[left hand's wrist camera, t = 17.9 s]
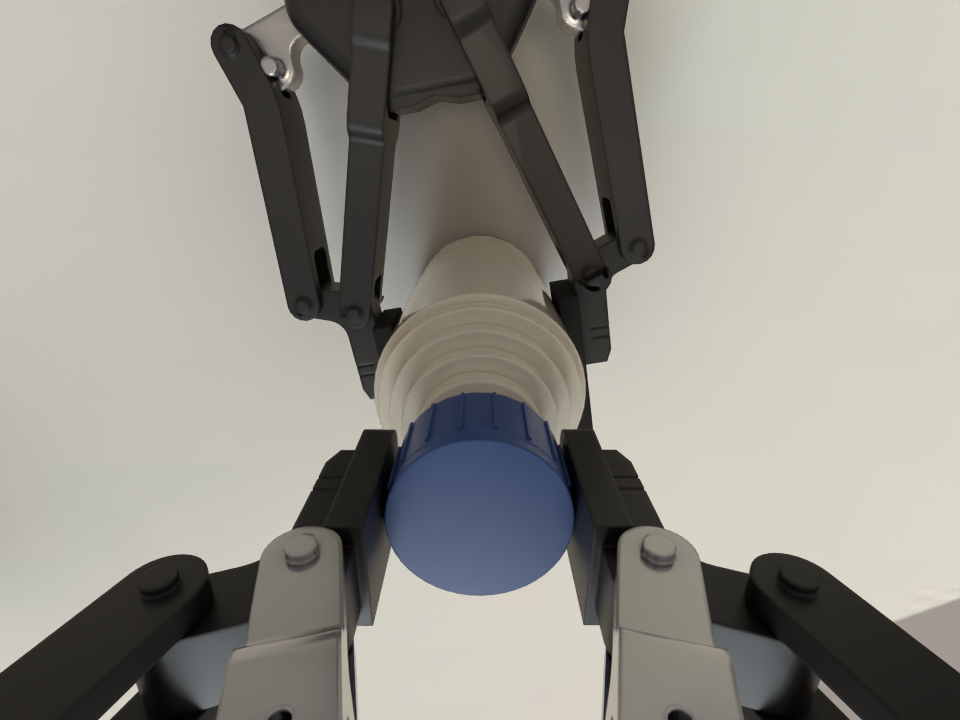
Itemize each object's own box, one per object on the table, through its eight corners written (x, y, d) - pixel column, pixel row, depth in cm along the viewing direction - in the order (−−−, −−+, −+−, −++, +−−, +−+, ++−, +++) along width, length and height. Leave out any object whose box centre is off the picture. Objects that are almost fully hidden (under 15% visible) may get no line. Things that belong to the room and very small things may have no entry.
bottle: (465, 208, 26) (439, 294, 9) (567, 284, 27) (702, 478, 10) (395, 311, 27) (267, 535, 11) (493, 377, 29) (509, 664, 12)
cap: (366, 478, 12) (344, 540, 10) (460, 355, 11) (455, 398, 9) (495, 554, 13) (498, 625, 11) (594, 447, 12) (618, 504, 10)
